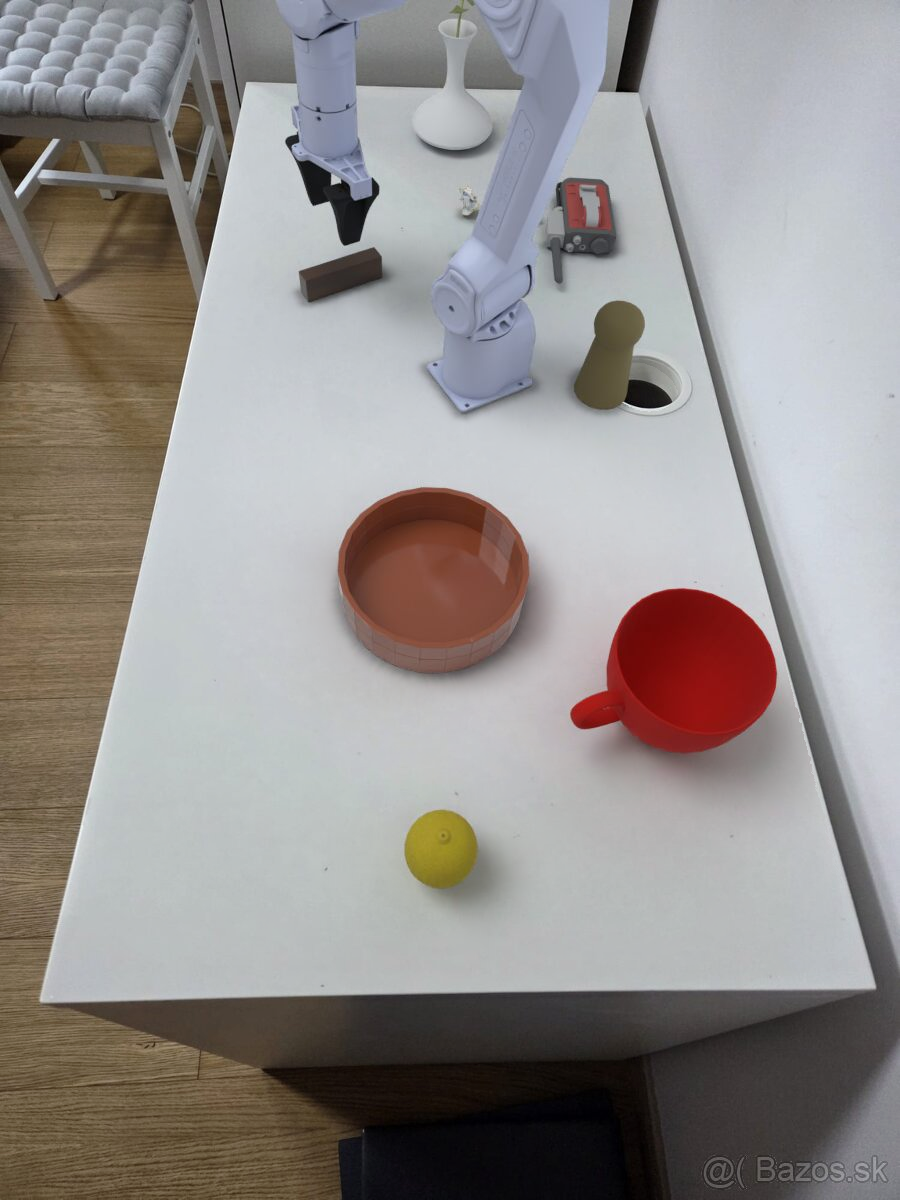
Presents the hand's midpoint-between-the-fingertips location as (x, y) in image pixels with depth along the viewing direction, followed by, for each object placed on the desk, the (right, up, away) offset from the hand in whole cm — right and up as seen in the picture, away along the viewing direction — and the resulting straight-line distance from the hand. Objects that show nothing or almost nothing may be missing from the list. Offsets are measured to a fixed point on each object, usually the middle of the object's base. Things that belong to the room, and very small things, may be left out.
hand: (335, 221), depth 91 cm
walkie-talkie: (+30, +4, +14) cm, 33 cm away
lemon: (+12, -63, -26) cm, 70 cm away
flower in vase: (+14, +24, +25) cm, 38 cm away
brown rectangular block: (0, -4, +8) cm, 9 cm away
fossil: (+19, +5, +13) cm, 24 cm away
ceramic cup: (+30, -53, -19) cm, 64 cm away
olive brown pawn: (+30, -19, +1) cm, 35 cm away
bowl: (+11, -42, -14) cm, 45 cm away
